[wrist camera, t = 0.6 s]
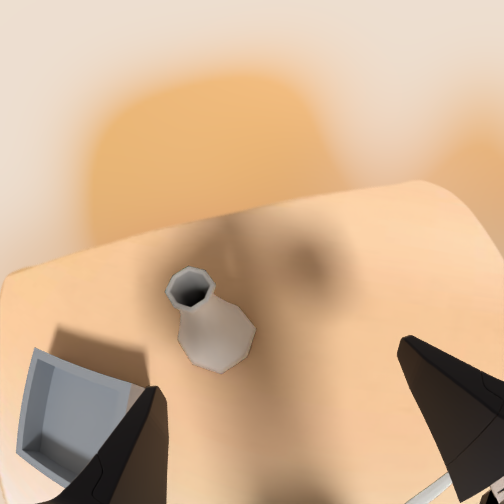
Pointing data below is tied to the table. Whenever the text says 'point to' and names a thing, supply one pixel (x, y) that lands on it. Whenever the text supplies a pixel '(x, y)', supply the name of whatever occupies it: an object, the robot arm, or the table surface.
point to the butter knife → (431, 491)
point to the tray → (68, 415)
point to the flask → (208, 322)
